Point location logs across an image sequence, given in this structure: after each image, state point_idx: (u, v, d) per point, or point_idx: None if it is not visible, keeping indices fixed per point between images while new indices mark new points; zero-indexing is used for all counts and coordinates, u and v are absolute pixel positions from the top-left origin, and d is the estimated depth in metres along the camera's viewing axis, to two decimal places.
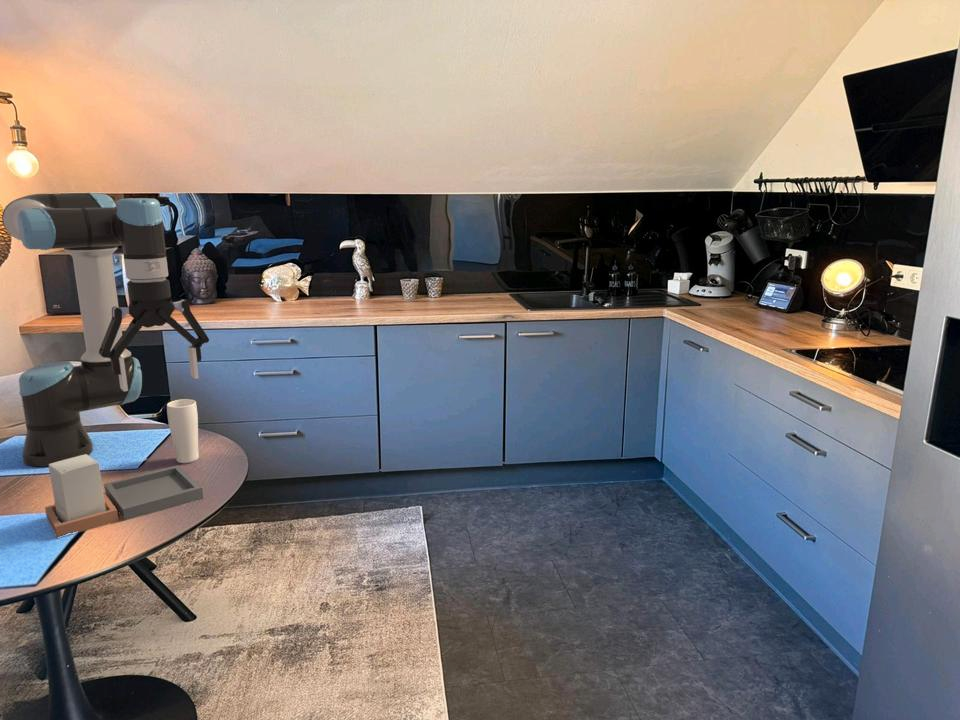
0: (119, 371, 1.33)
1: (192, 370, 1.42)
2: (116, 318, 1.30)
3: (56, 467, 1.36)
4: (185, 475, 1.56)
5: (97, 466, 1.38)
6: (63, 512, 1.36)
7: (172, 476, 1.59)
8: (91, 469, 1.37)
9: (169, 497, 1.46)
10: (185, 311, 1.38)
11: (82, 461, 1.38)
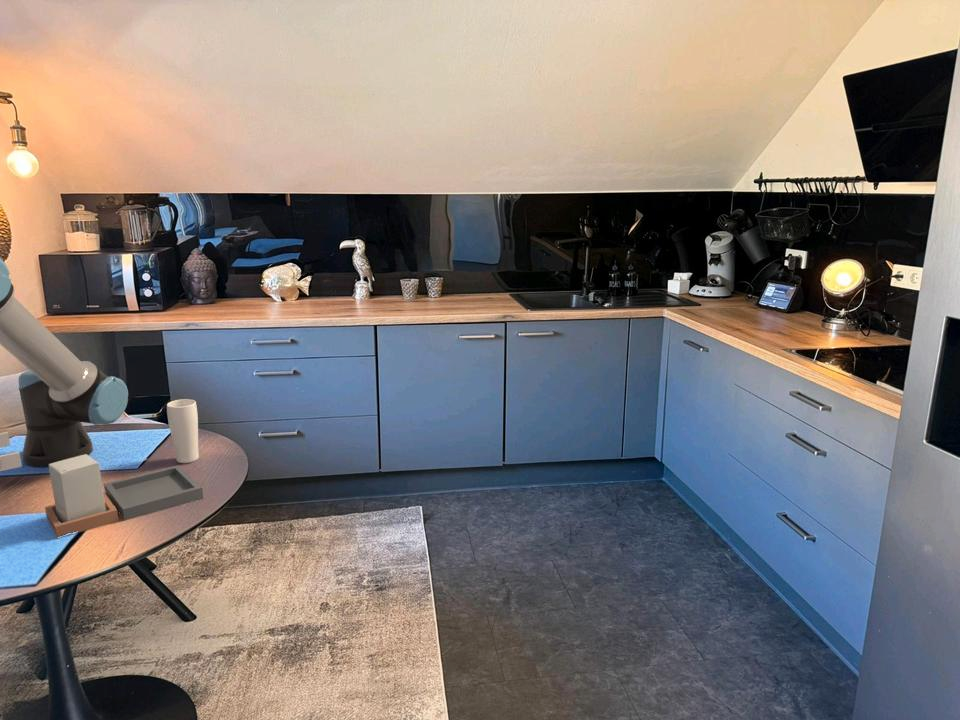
0: None
1: None
2: None
3: (56, 467, 1.36)
4: (185, 475, 1.56)
5: (97, 466, 1.38)
6: (63, 512, 1.36)
7: (172, 476, 1.59)
8: (91, 469, 1.37)
9: (169, 497, 1.46)
10: None
11: (82, 461, 1.38)
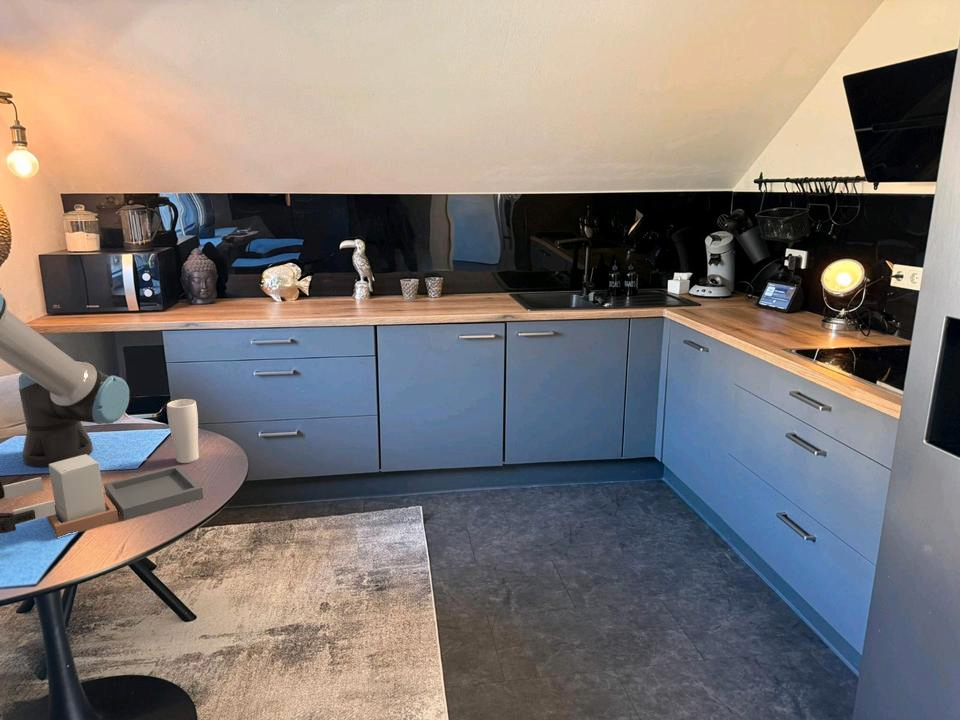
0: None
1: None
2: None
3: (56, 467, 1.36)
4: (185, 475, 1.56)
5: (97, 466, 1.38)
6: (63, 512, 1.36)
7: (172, 476, 1.59)
8: (91, 469, 1.37)
9: (169, 497, 1.46)
10: None
11: (82, 461, 1.38)
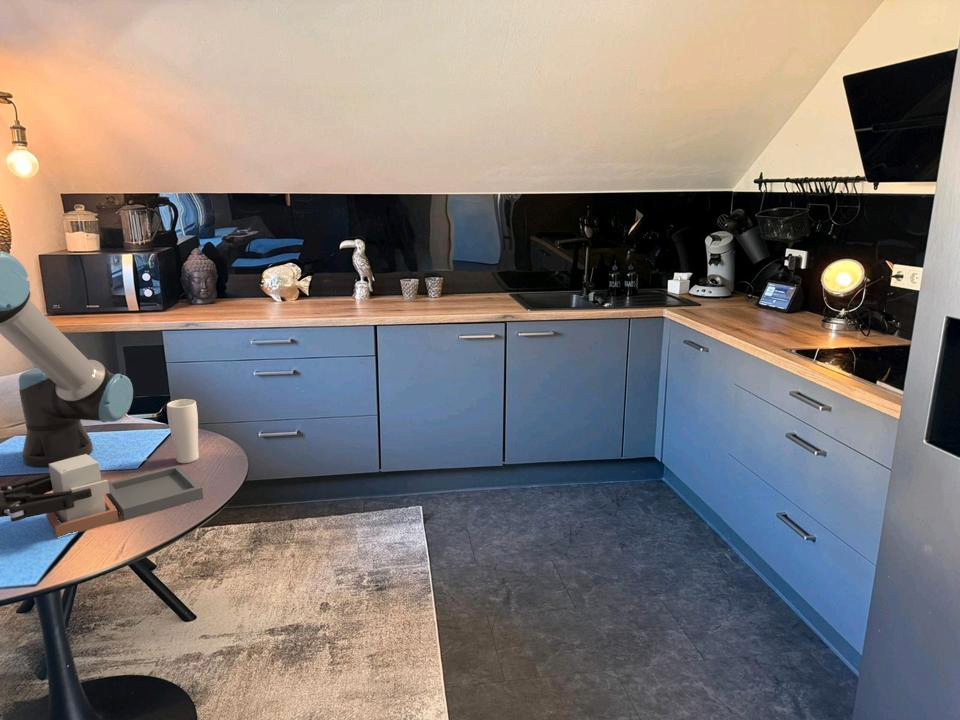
0: None
1: None
2: None
3: (56, 467, 1.36)
4: (185, 475, 1.56)
5: (97, 466, 1.38)
6: (63, 512, 1.36)
7: (172, 476, 1.59)
8: (91, 469, 1.37)
9: (169, 497, 1.46)
10: None
11: (82, 461, 1.38)
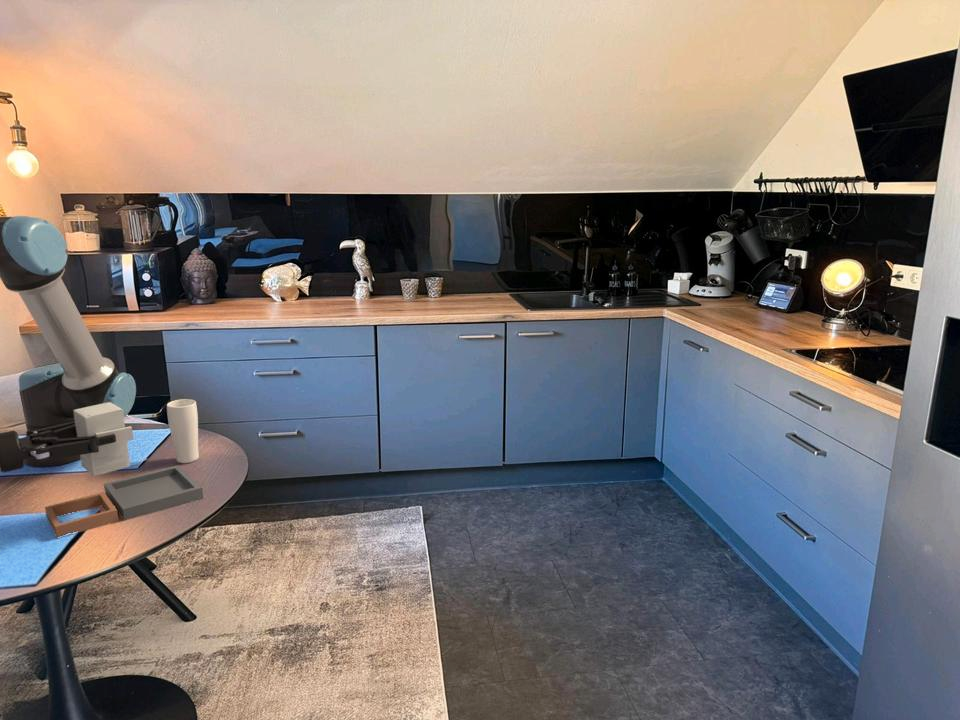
0: None
1: None
2: None
3: (81, 412, 1.37)
4: (185, 475, 1.56)
5: (121, 412, 1.39)
6: (87, 457, 1.37)
7: (172, 476, 1.59)
8: (115, 415, 1.38)
9: (169, 497, 1.46)
10: None
11: (106, 408, 1.39)
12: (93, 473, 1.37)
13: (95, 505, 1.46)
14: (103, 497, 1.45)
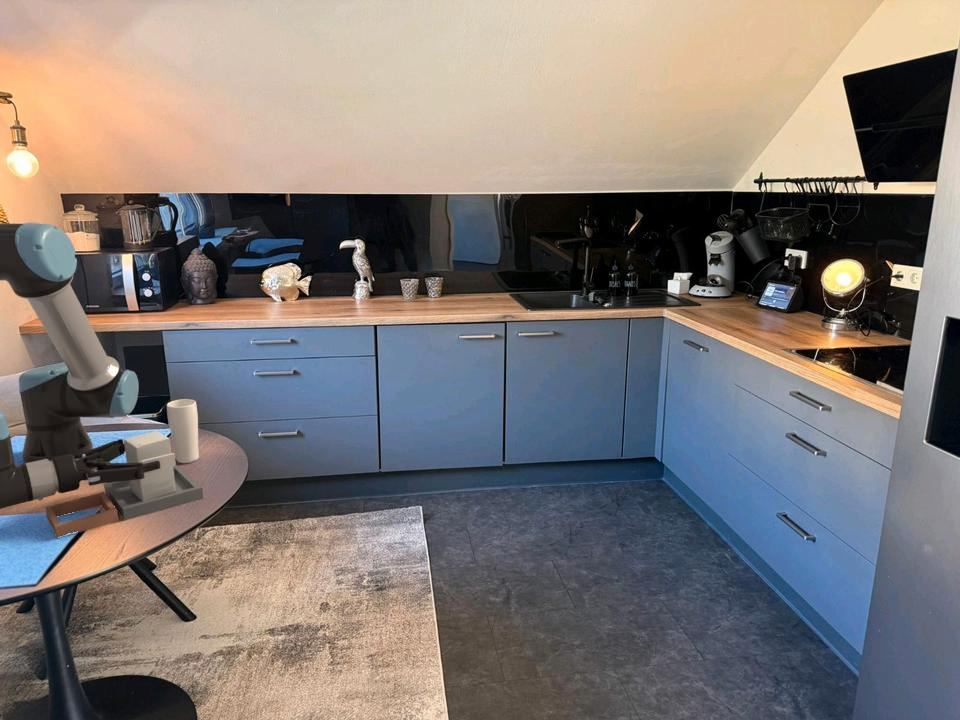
0: None
1: None
2: None
3: (131, 442, 1.46)
4: (185, 475, 1.56)
5: (168, 441, 1.48)
6: (137, 484, 1.46)
7: None
8: (163, 444, 1.47)
9: (169, 497, 1.46)
10: None
11: (154, 437, 1.49)
12: (142, 498, 1.46)
13: (95, 505, 1.46)
14: (103, 497, 1.45)
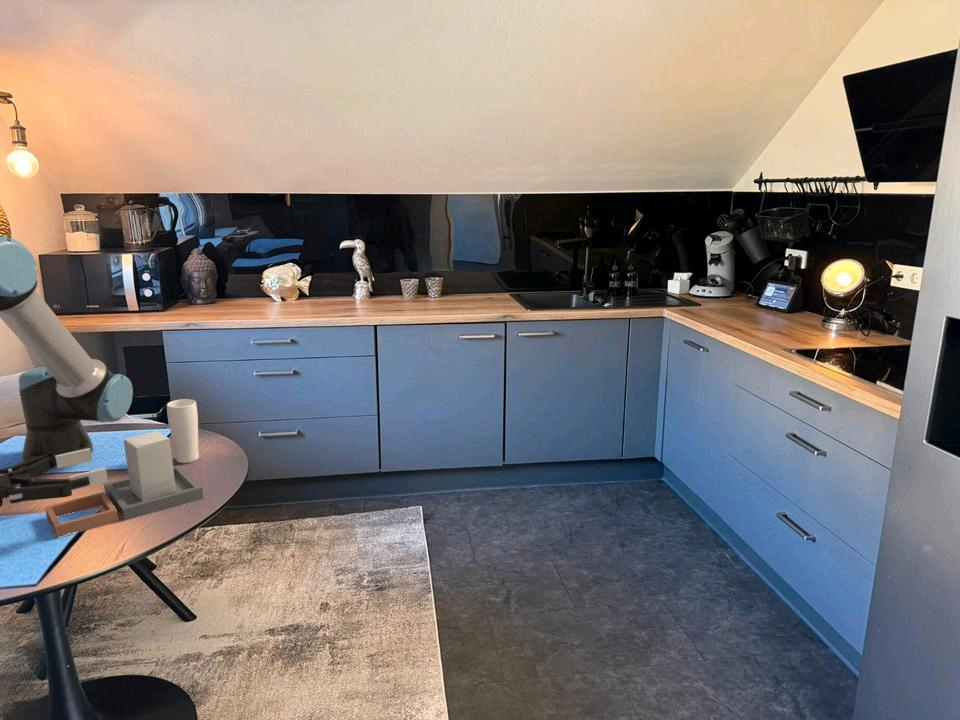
0: None
1: None
2: None
3: (131, 442, 1.46)
4: (185, 475, 1.56)
5: (168, 441, 1.48)
6: (137, 484, 1.46)
7: None
8: (163, 444, 1.47)
9: (169, 497, 1.46)
10: None
11: (154, 437, 1.49)
12: (142, 498, 1.46)
13: (95, 505, 1.46)
14: (103, 497, 1.45)
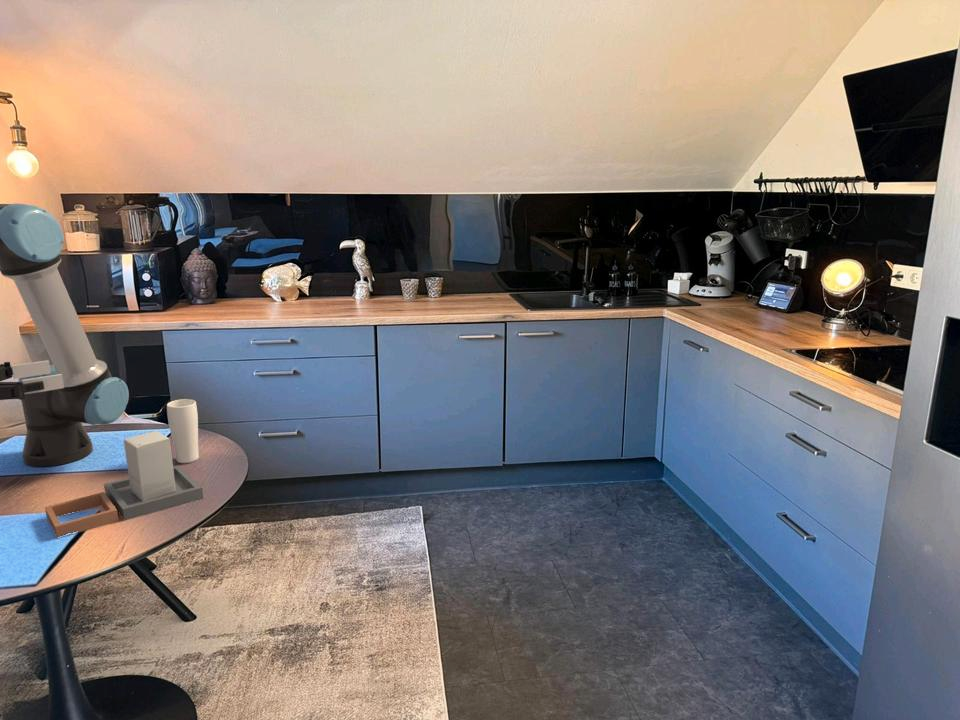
0: None
1: None
2: None
3: (131, 442, 1.46)
4: (185, 475, 1.56)
5: (168, 441, 1.48)
6: (137, 484, 1.46)
7: None
8: (163, 444, 1.47)
9: (169, 497, 1.46)
10: None
11: (154, 437, 1.49)
12: (142, 498, 1.46)
13: (95, 505, 1.46)
14: (103, 497, 1.45)
